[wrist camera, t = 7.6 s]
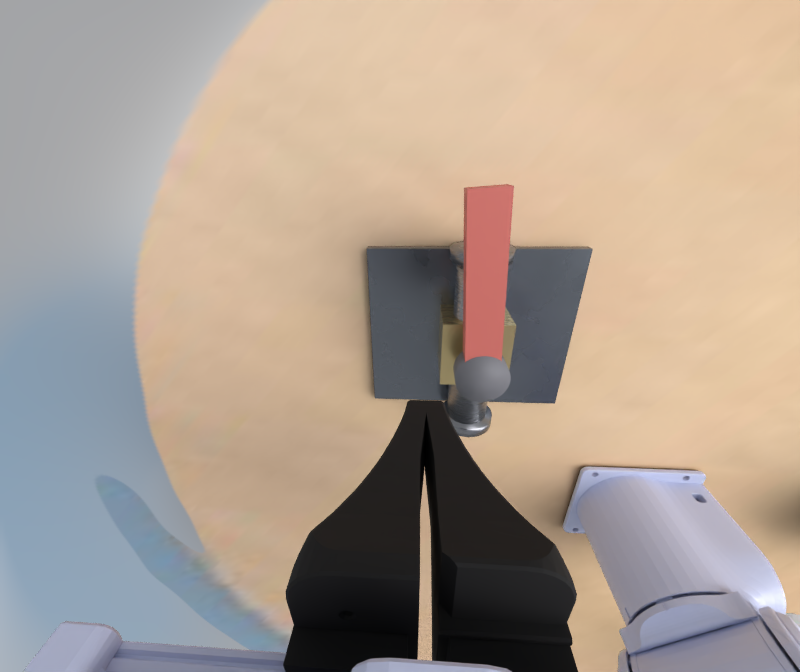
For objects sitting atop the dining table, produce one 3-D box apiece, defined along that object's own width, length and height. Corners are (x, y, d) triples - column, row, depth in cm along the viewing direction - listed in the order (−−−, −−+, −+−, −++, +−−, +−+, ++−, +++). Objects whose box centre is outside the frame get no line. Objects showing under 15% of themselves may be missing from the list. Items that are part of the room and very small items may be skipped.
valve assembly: (367, 237, 20) (354, 256, 16) (589, 238, 20) (632, 257, 16) (376, 398, 26) (367, 441, 22) (550, 403, 25) (574, 449, 21)
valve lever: (503, 388, 19) (508, 401, 18) (453, 389, 19) (455, 402, 18) (519, 183, 14) (527, 184, 13) (452, 188, 15) (454, 190, 13)
